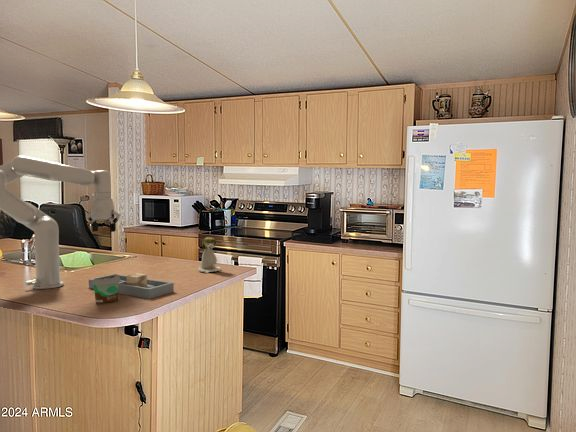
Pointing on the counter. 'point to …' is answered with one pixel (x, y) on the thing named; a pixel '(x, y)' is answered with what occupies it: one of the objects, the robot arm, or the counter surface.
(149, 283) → the tray
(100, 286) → the food container
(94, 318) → the counter surface
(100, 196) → the robot arm
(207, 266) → the grey figurine
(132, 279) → the maple block
